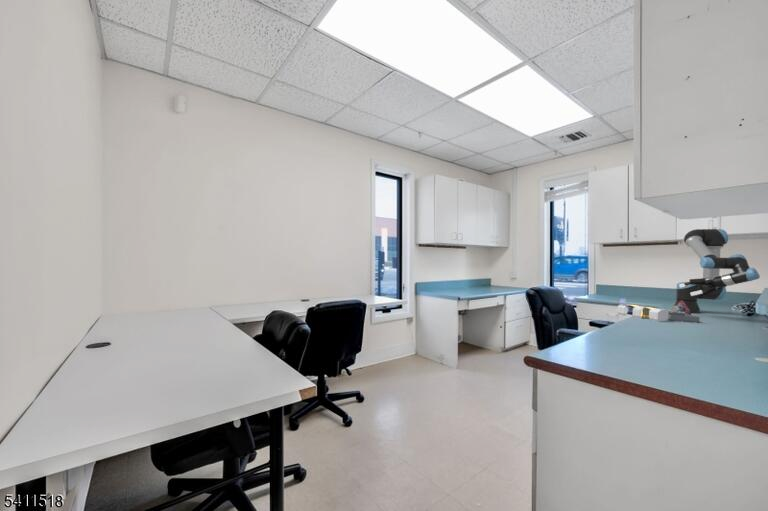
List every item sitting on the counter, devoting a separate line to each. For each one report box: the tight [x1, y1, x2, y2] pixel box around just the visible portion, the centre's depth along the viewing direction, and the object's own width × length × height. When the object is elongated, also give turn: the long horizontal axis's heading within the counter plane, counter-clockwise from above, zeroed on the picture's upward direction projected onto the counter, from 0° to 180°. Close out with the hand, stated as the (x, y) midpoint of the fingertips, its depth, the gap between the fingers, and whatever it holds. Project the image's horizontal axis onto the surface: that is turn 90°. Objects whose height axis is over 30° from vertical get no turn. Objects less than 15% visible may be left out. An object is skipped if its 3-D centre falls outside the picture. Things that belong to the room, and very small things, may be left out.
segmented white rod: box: [617, 296, 669, 322], centre depth 209 cm, size 25×10×13 cm, turn 17°
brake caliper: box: [668, 301, 692, 315], centre depth 220 cm, size 11×11×12 cm
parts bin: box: [668, 312, 700, 324], centre depth 205 cm, size 15×16×4 cm
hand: (685, 290), depth 223 cm, fingers open, 13 cm apart
